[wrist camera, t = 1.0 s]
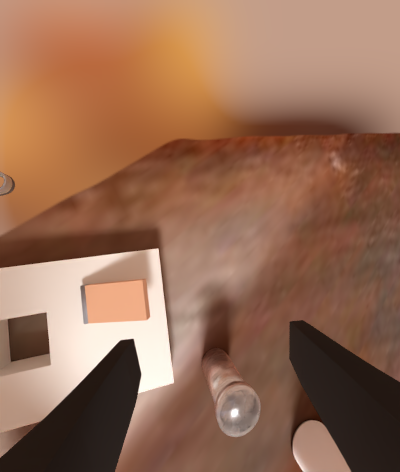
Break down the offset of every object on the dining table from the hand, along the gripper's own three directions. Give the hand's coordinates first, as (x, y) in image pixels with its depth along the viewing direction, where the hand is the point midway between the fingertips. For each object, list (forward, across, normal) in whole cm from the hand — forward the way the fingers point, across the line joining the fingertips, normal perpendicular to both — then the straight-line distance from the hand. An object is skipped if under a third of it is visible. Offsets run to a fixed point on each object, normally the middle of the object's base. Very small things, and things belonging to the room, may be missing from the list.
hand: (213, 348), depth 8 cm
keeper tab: (+11, +10, +3) cm, 15 cm away
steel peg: (+14, 0, +16) cm, 22 cm away
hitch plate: (+13, +16, +7) cm, 22 cm away
